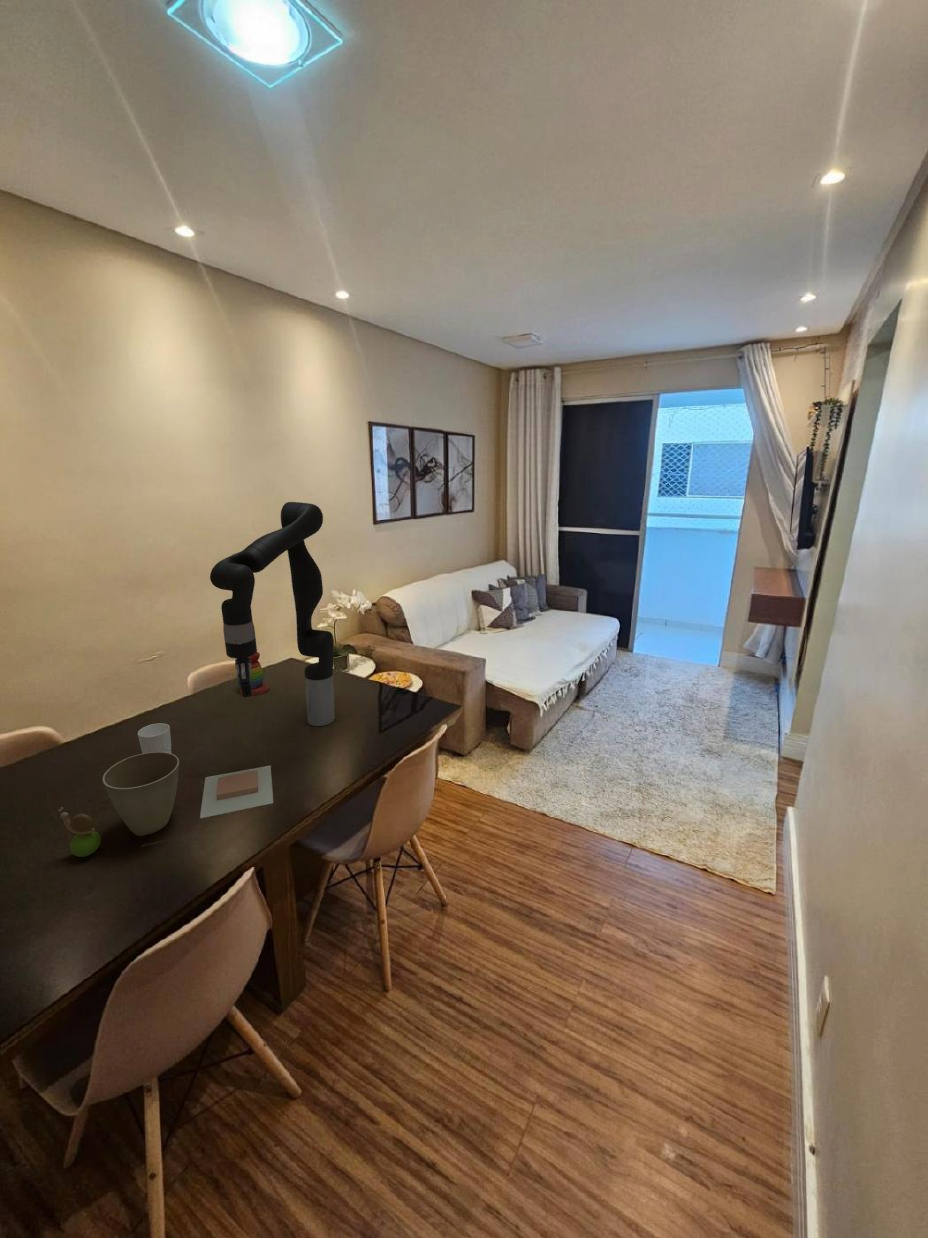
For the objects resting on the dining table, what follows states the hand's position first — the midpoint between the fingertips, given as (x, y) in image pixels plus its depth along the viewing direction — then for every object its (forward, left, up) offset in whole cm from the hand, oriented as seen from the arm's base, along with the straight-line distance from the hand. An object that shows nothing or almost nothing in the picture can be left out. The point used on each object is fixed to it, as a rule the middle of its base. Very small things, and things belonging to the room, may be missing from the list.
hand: (247, 695), depth 133 cm
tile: (+4, -4, -22) cm, 23 cm away
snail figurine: (+21, -35, -24) cm, 47 cm away
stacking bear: (-57, 0, -24) cm, 62 cm away
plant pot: (+16, -23, -24) cm, 37 cm away
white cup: (-15, -26, -24) cm, 38 cm away
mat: (+9, -4, -24) cm, 26 cm away
